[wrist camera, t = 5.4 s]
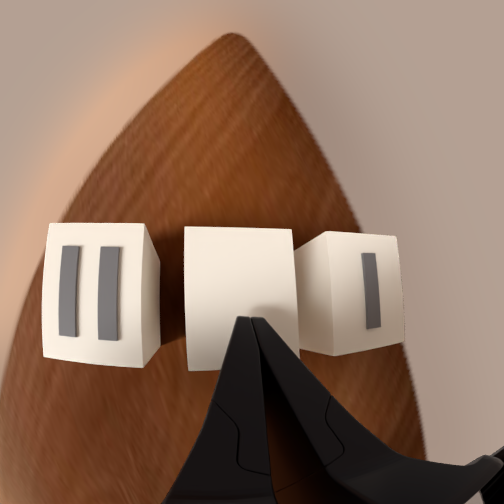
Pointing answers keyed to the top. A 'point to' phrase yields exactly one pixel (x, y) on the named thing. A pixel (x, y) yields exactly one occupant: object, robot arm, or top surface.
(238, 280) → the plain block
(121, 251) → the marked block two
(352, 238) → the marked block one
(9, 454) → the top surface
